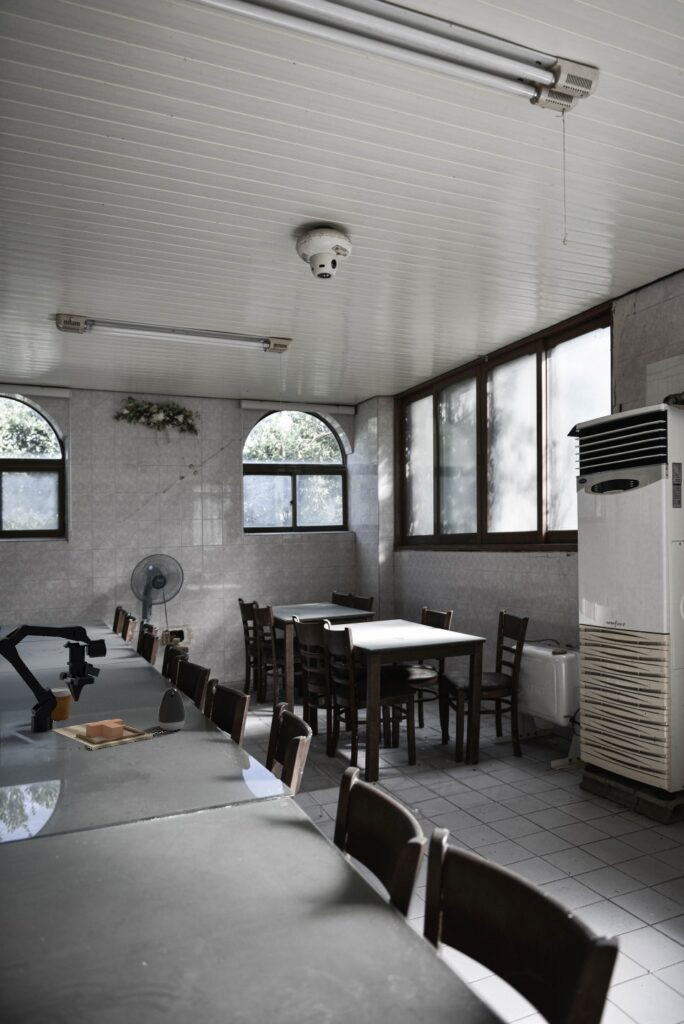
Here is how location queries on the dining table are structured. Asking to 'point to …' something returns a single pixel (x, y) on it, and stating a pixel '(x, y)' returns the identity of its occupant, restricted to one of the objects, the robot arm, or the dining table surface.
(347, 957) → the dining table surface
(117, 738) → the board
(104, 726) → the t block
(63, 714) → the disposable coffee cup
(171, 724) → the grey egg-shaped pod
